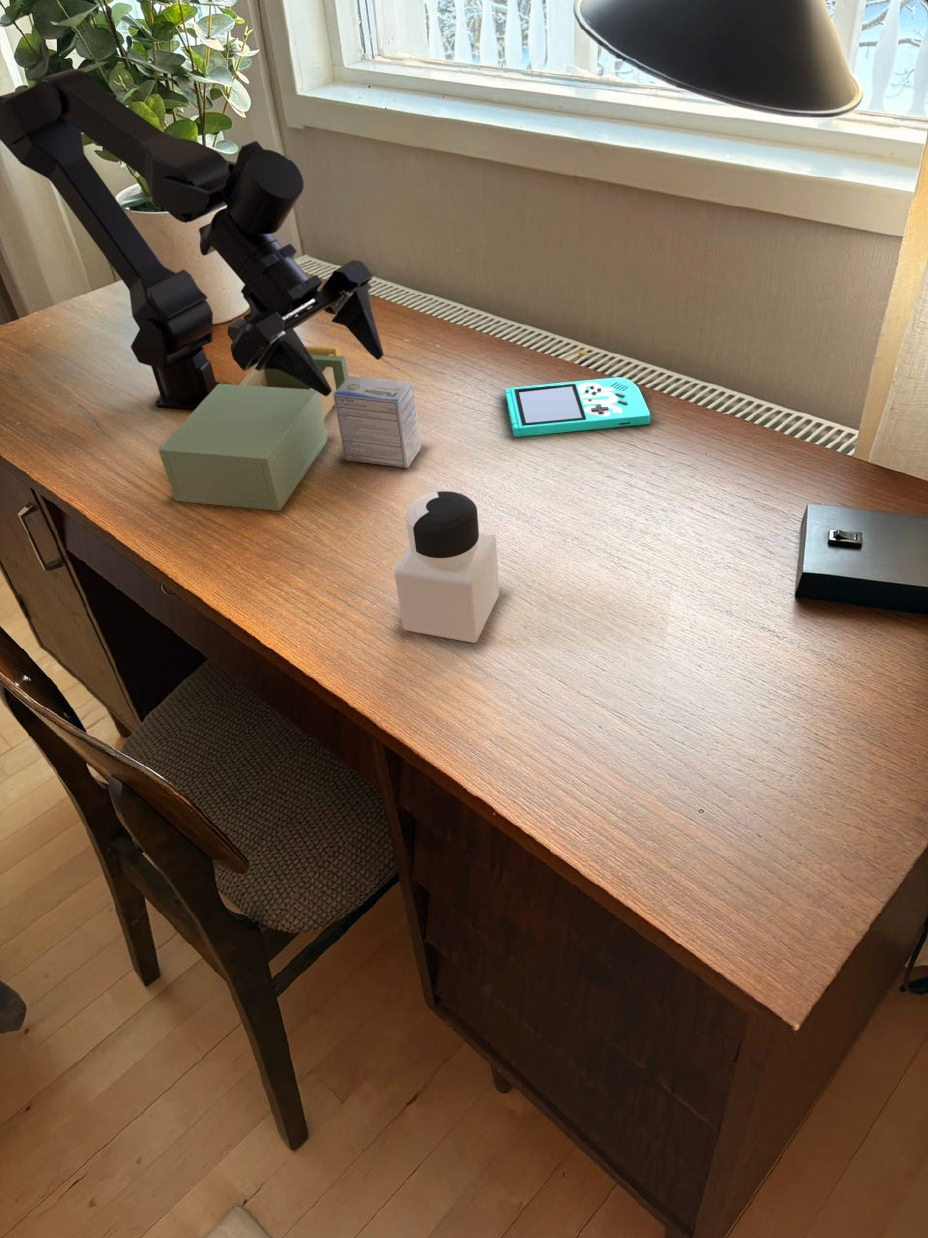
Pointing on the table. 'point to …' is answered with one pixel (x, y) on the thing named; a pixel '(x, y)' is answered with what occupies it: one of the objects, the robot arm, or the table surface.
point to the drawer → (327, 363)
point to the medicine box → (377, 421)
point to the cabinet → (245, 446)
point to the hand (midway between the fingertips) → (355, 375)
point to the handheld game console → (575, 406)
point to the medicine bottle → (447, 569)
